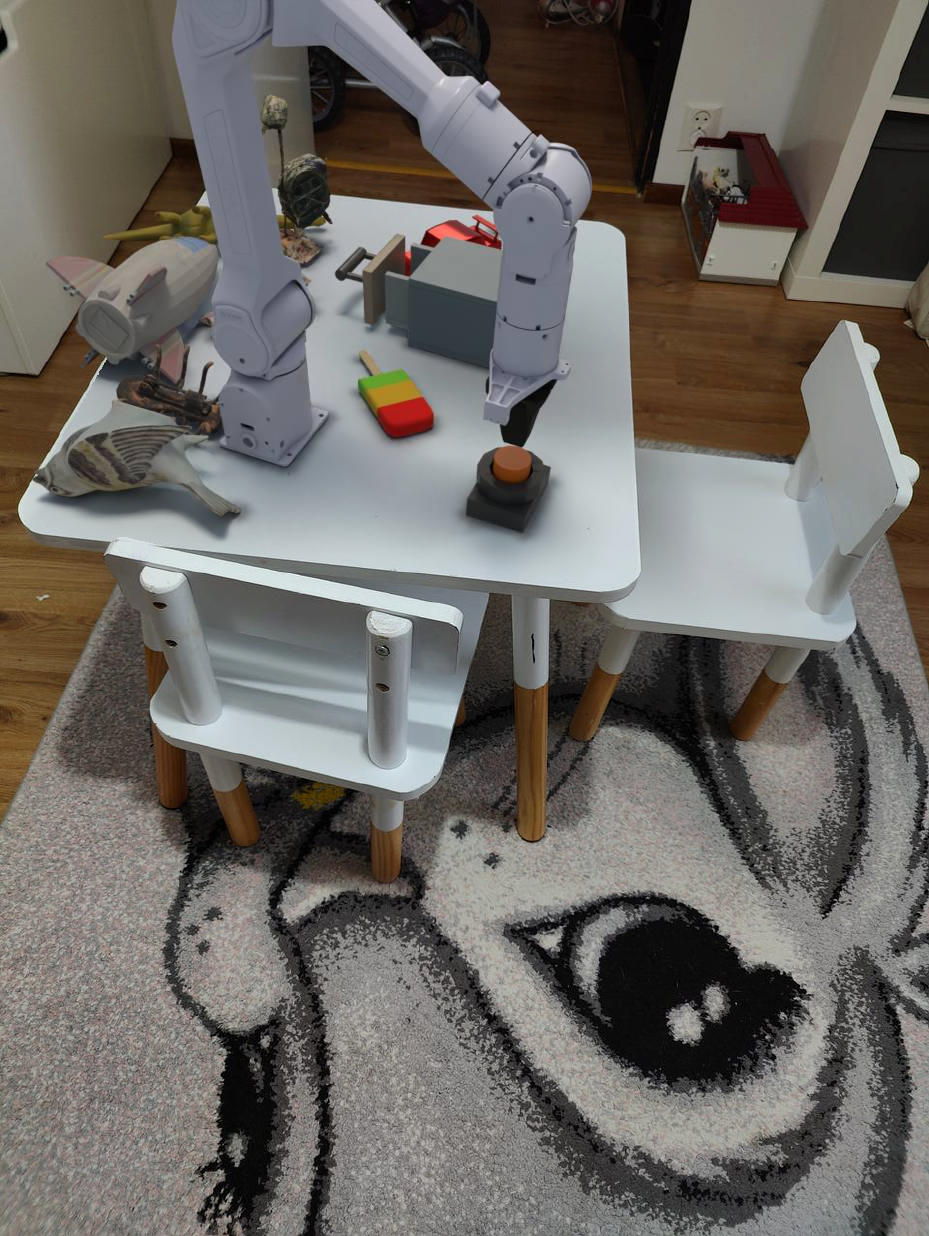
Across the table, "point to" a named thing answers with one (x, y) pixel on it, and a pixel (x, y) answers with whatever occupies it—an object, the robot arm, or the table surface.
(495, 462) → the button
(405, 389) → the popsicle
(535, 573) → the table surface
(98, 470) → the figurine
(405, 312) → the drawer
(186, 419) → the toy
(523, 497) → the control block
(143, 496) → the table surface
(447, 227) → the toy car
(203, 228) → the toy
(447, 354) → the drawer cabinet
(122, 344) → the toy rocket
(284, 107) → the plant with pod
